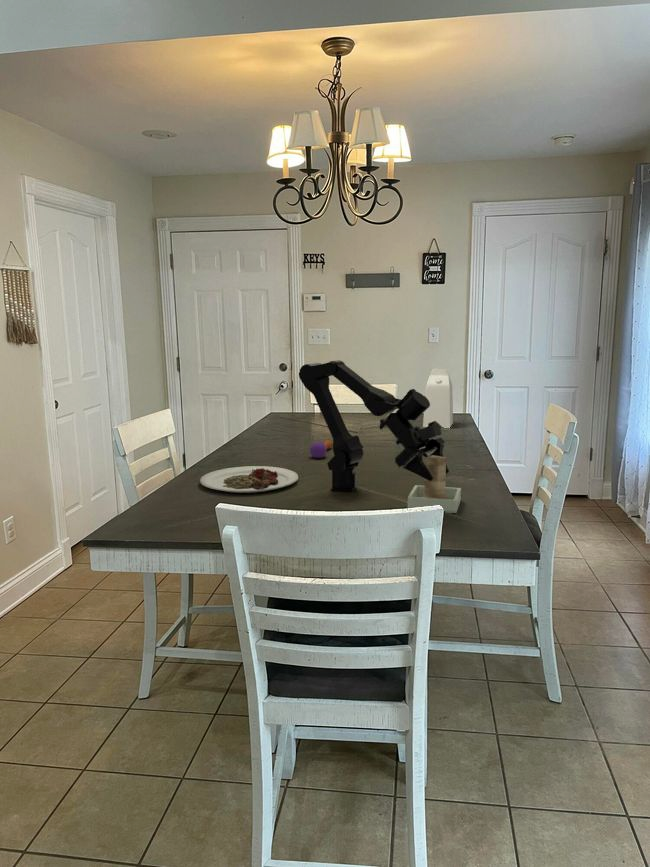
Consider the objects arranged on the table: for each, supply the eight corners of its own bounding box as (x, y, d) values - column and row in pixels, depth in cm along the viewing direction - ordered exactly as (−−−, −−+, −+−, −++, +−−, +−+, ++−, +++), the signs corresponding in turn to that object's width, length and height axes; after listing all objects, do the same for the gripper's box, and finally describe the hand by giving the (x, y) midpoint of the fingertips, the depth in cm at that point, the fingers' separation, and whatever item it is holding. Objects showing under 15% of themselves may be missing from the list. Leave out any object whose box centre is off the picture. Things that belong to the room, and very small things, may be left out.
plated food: (186, 495, 189) (185, 484, 188) (217, 470, 218) (216, 460, 217) (288, 498, 185) (288, 486, 184) (305, 472, 214) (305, 462, 213)
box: (407, 510, 171) (407, 497, 171) (414, 497, 183) (415, 485, 183) (456, 513, 168) (456, 500, 167) (460, 500, 180) (460, 488, 179)
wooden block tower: (416, 503, 175) (417, 458, 173) (430, 497, 180) (431, 453, 178) (439, 508, 171) (440, 461, 168) (452, 502, 176) (453, 457, 174)
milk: (452, 424, 300) (454, 368, 295) (449, 429, 289) (451, 370, 284) (426, 423, 304) (427, 367, 299) (422, 427, 293) (423, 369, 288)
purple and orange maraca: (337, 438, 250) (326, 444, 230) (334, 453, 251) (322, 461, 231) (322, 435, 251) (310, 441, 231) (319, 450, 252) (306, 457, 232)
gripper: (405, 417, 166) (444, 465, 162) (439, 408, 181) (475, 451, 176) (379, 444, 172) (415, 490, 168) (413, 433, 187) (448, 476, 182)
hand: (440, 476), depth 173 cm, fingers open, 9 cm apart
